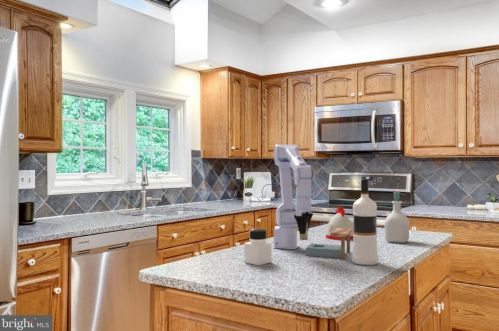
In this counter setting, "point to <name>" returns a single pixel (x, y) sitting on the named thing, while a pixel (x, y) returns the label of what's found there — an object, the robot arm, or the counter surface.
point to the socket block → (324, 250)
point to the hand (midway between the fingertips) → (303, 233)
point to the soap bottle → (396, 223)
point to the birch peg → (304, 236)
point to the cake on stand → (339, 224)
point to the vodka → (365, 229)
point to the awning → (343, 239)
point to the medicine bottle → (257, 248)
